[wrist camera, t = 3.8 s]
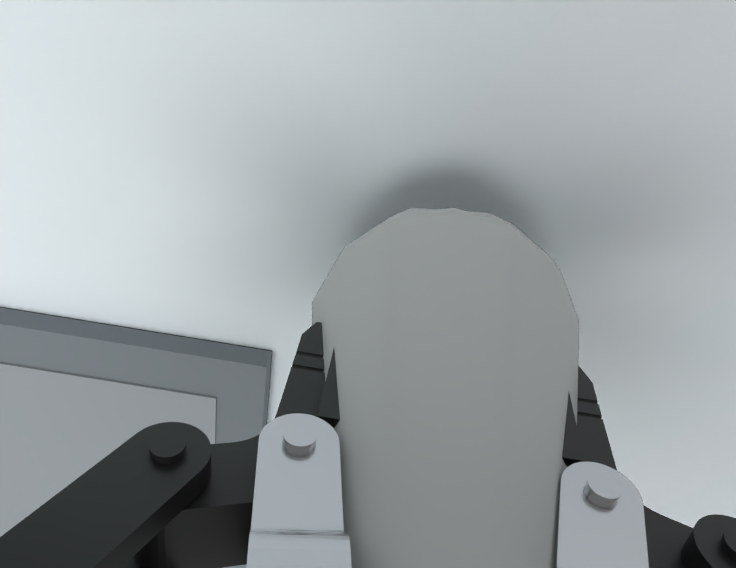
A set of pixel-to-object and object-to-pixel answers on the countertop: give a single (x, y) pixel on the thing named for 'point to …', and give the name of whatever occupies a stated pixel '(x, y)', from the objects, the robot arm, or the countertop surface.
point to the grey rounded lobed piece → (449, 391)
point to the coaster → (109, 398)
